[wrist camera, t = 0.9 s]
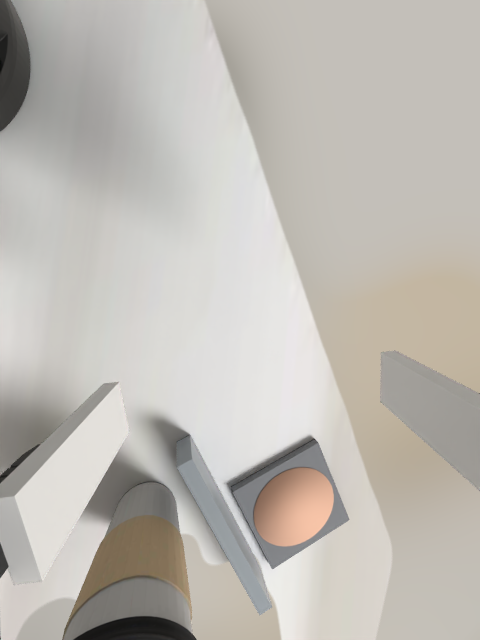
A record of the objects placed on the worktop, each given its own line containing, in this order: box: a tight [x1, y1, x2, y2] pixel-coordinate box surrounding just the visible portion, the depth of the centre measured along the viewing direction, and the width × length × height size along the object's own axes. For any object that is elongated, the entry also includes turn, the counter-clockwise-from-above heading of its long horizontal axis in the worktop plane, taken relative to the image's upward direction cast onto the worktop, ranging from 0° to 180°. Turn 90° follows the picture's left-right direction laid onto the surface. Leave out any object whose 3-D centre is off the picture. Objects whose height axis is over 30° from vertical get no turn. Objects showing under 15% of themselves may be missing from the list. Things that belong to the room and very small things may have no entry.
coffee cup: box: [62, 482, 196, 640], centre depth 21 cm, size 9×9×15 cm
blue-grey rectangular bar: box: [177, 435, 272, 615], centre depth 28 cm, size 20×2×4 cm, turn 23°
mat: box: [231, 439, 349, 569], centre depth 32 cm, size 12×11×1 cm
